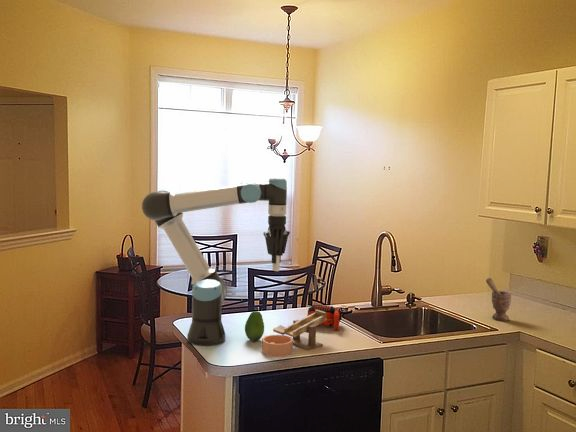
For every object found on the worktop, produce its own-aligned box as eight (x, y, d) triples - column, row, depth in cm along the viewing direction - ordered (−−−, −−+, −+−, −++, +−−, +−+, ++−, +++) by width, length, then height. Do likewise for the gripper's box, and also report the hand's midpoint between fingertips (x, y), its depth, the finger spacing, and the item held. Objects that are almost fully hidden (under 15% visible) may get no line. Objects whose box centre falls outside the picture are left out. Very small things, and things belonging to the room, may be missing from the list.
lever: (294, 341, 204) (292, 330, 203) (273, 333, 213) (272, 323, 212) (328, 322, 216) (326, 312, 215) (307, 316, 225) (306, 306, 224)
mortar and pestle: (494, 322, 250) (496, 280, 249) (481, 317, 258) (483, 277, 257) (513, 320, 254) (516, 279, 253) (500, 316, 262) (502, 276, 261)
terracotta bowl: (275, 358, 195) (275, 346, 195) (255, 350, 204) (256, 338, 203) (298, 352, 203) (299, 340, 202) (278, 344, 211) (279, 333, 211)
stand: (307, 350, 205) (308, 328, 204) (285, 341, 214) (286, 321, 214) (322, 346, 210) (323, 325, 209) (300, 338, 220) (300, 318, 219)
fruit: (268, 340, 216) (268, 311, 215) (254, 344, 210) (254, 314, 209) (254, 336, 221) (255, 307, 220) (240, 340, 215) (240, 311, 214)
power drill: (311, 301, 246) (343, 303, 242) (311, 319, 247) (343, 322, 244) (304, 311, 231) (338, 314, 228) (304, 330, 233) (338, 334, 229)
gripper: (270, 216, 216) (269, 273, 218) (294, 215, 225) (293, 270, 227) (259, 215, 222) (258, 270, 224) (283, 214, 231) (281, 267, 232)
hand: (275, 270), depth 225 cm, fingers closed
